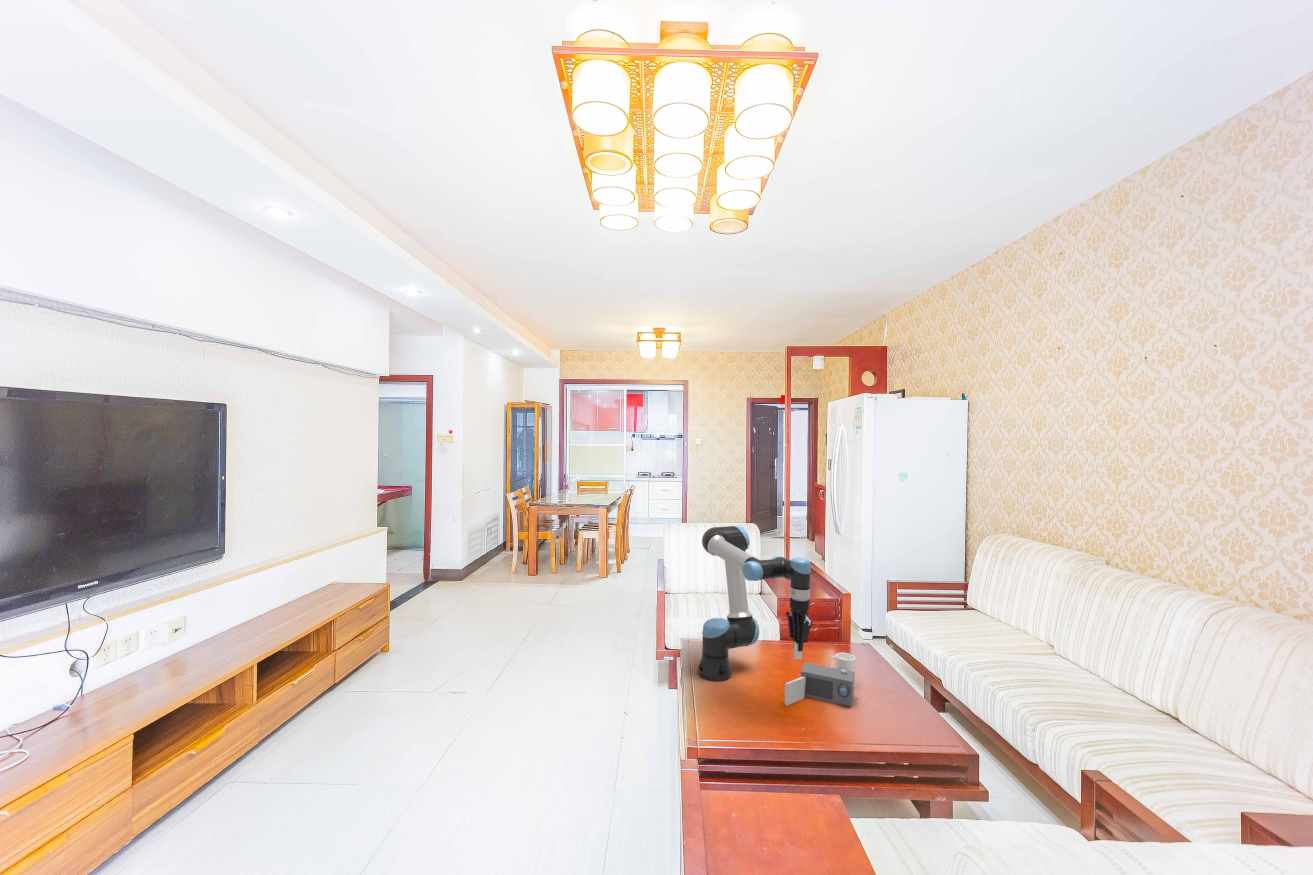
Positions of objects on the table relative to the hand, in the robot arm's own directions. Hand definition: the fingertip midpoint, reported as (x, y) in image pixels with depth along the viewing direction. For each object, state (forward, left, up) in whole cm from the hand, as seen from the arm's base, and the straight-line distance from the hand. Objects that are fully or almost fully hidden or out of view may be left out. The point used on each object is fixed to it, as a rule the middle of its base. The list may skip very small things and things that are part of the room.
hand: (797, 658), depth 211 cm
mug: (+14, +32, -20) cm, 40 cm away
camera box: (+10, +16, -20) cm, 27 cm away
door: (-2, +6, -20) cm, 21 cm away
